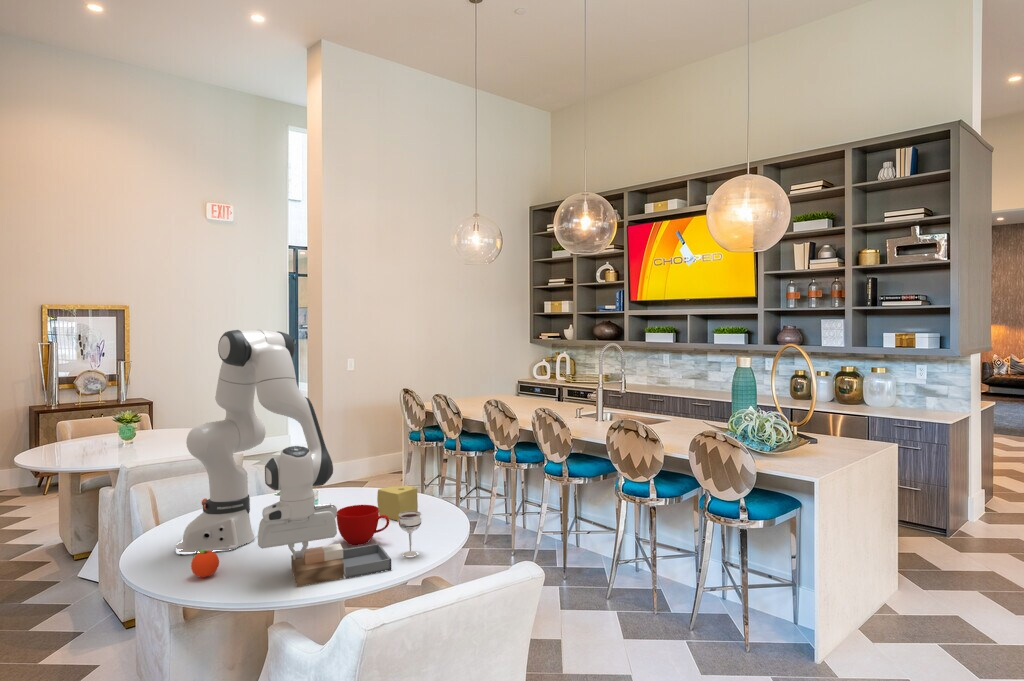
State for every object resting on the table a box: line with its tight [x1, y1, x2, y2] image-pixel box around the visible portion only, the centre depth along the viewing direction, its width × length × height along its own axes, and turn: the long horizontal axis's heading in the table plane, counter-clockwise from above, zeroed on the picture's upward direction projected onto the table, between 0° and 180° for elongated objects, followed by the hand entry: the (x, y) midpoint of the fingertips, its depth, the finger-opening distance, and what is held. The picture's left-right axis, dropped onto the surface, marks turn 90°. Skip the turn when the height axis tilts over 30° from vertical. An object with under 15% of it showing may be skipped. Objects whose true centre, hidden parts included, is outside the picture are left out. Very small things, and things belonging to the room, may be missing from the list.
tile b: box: [303, 545, 325, 565], centre depth 168 cm, size 5×5×2 cm
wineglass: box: [397, 510, 422, 556], centre depth 182 cm, size 7×7×12 cm
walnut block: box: [290, 554, 345, 588], centre depth 168 cm, size 12×13×4 cm
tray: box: [341, 543, 392, 579], centre depth 174 cm, size 12×14×3 cm
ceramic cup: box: [336, 504, 390, 547], centre depth 193 cm, size 13×17×10 cm
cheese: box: [376, 484, 419, 522], centre depth 220 cm, size 10×11×10 cm
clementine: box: [190, 550, 220, 578], centre depth 168 cm, size 8×7×7 cm
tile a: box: [322, 543, 344, 561], centre depth 170 cm, size 5×5×2 cm
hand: (298, 558), depth 166 cm, fingers closed
